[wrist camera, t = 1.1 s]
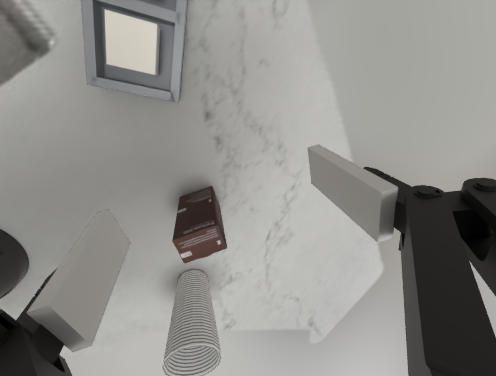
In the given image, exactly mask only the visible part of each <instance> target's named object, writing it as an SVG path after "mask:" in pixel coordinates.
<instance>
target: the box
mask: <svg viewBox="0 0 496 376" xmlns="http://www.w3.org/2000/svg"><path fill="white" fill-rule="evenodd" d="M173 243H174V245H175V247H176V248H177V250H178V252H179V254H180V256H181V258H182V260H183V262H184V263H188V262H190V261H193V260H196V259H198V258H204V257H207V256H209V255H211V254H213V253H215V252H218V251H221V250H223V249H226V248H227V244H226V239H225V234H224V228H223V222H222V216H221V211H220V205H219V202H218V200H217V197H216V195H215V192H214V190H213V187H212V186H211V187H209V188H206V189H203V190H201V191H198V192H195V193H192V194H189V195H186V196H182V197H180V199H179V205H178V212H177V218H176V224H175V229H174V235H173Z"/></svg>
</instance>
